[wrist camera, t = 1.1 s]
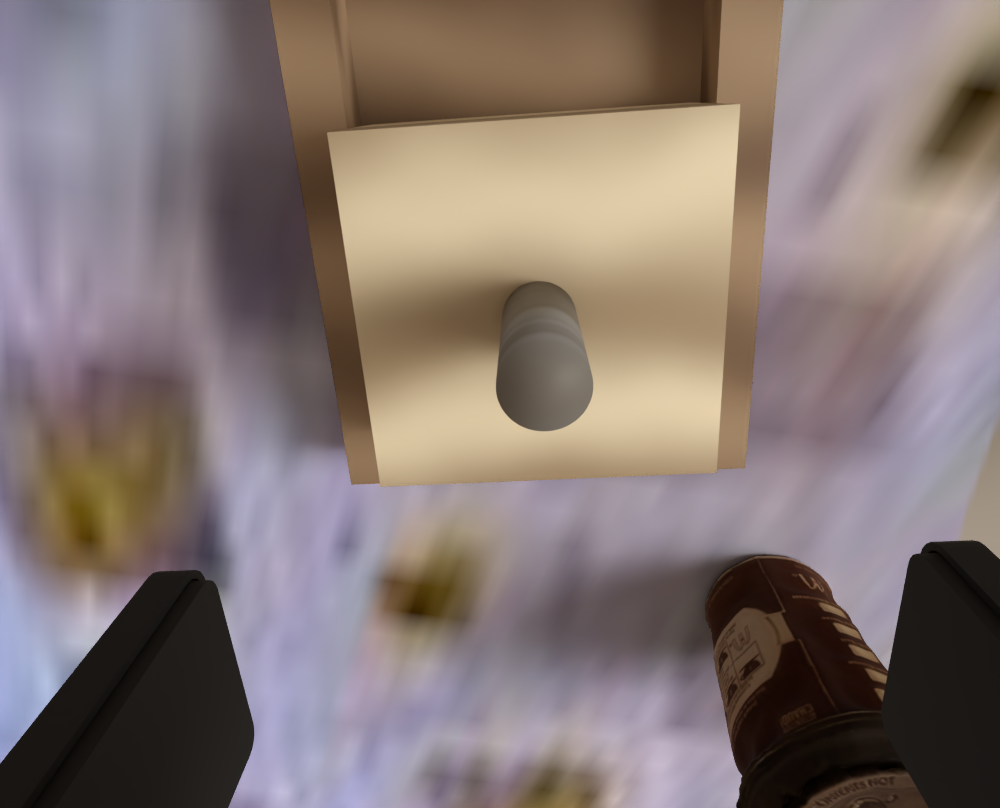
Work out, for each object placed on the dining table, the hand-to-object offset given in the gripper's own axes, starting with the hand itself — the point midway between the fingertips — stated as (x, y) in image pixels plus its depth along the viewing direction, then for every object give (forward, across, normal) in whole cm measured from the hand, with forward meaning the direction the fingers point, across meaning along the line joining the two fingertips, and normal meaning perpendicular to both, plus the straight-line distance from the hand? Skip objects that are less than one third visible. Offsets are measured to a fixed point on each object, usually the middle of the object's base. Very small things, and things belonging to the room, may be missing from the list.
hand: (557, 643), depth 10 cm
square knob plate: (+22, 0, -1) cm, 23 cm away
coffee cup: (+23, -11, +18) cm, 31 cm away
